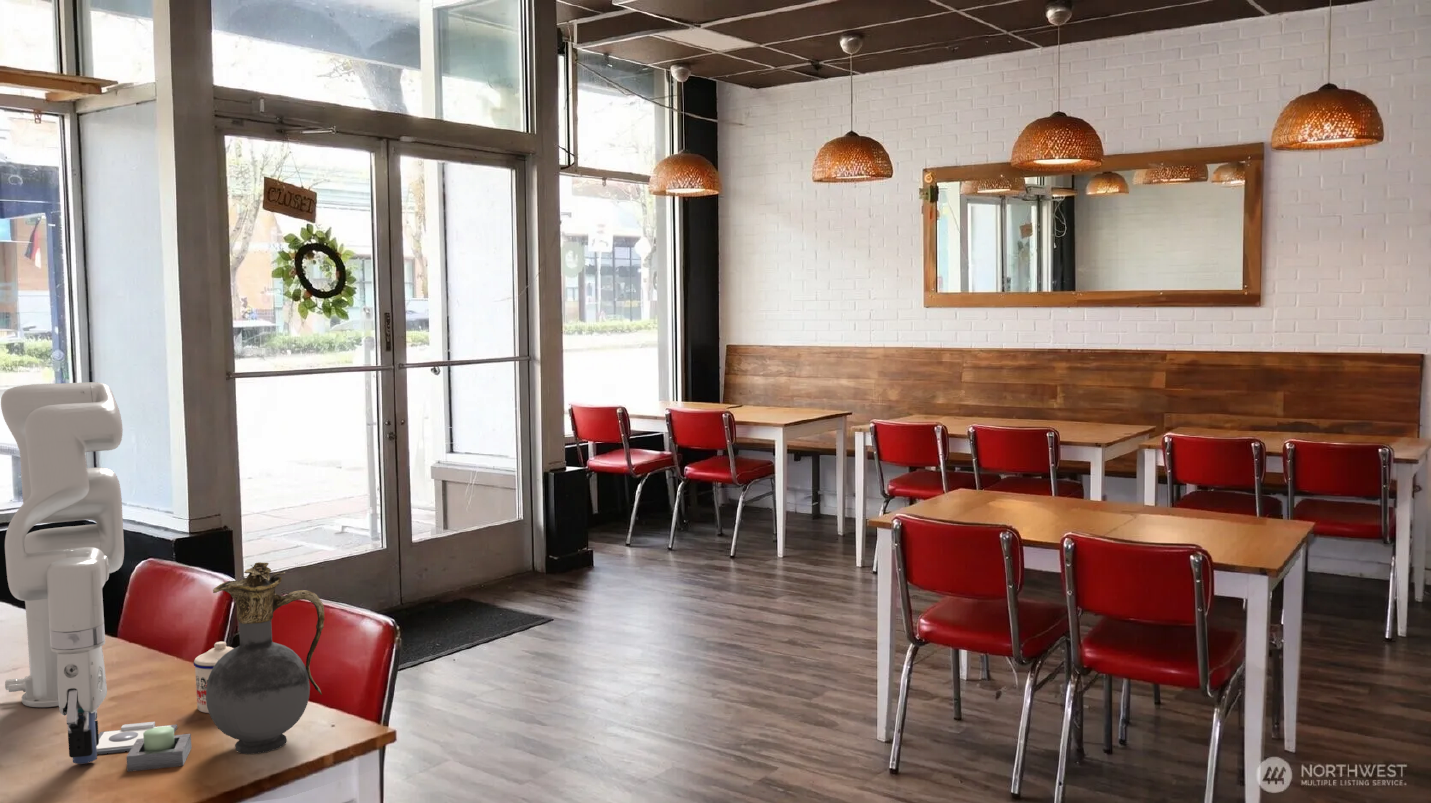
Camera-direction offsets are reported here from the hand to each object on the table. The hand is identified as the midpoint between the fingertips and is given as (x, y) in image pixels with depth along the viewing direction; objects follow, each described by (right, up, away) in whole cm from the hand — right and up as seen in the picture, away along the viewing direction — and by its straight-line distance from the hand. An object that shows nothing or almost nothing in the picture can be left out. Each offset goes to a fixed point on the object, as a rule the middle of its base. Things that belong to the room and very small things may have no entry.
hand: (84, 750), depth 189 cm
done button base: (+11, -2, +2) cm, 12 cm away
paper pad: (+3, -1, +10) cm, 11 cm away
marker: (0, -2, 0) cm, 2 cm away
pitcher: (+27, -1, +8) cm, 28 cm away
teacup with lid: (+12, 0, +27) cm, 29 cm away
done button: (+11, 0, +1) cm, 11 cm away
